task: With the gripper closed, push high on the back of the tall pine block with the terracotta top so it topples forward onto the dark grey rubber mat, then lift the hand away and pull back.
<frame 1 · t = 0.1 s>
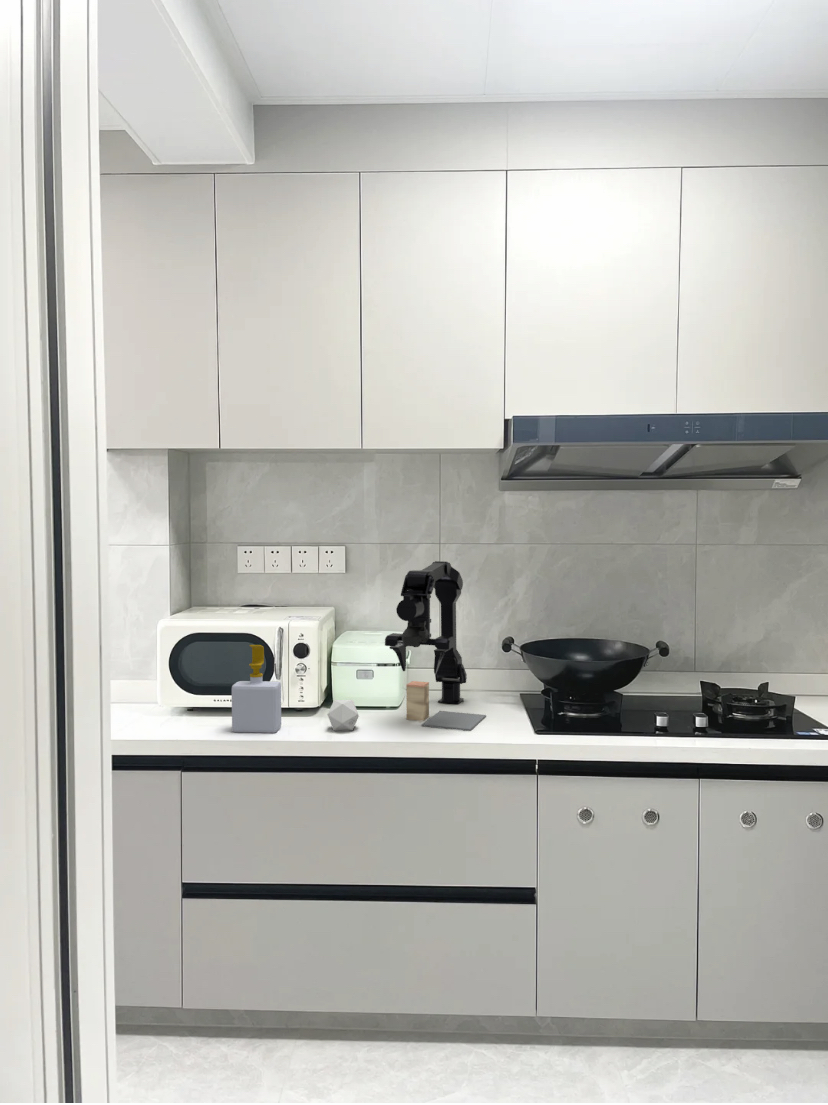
hand: (419, 672, 229), 15 cm above the worktop, tool pointing down, fingers open, 9 cm apart
soap bottle: (256, 730, 224), on the worktop
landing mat: (454, 721, 232), on the worktop
die: (343, 729, 224), on the worktop
pine block: (417, 717, 236), on the worktop
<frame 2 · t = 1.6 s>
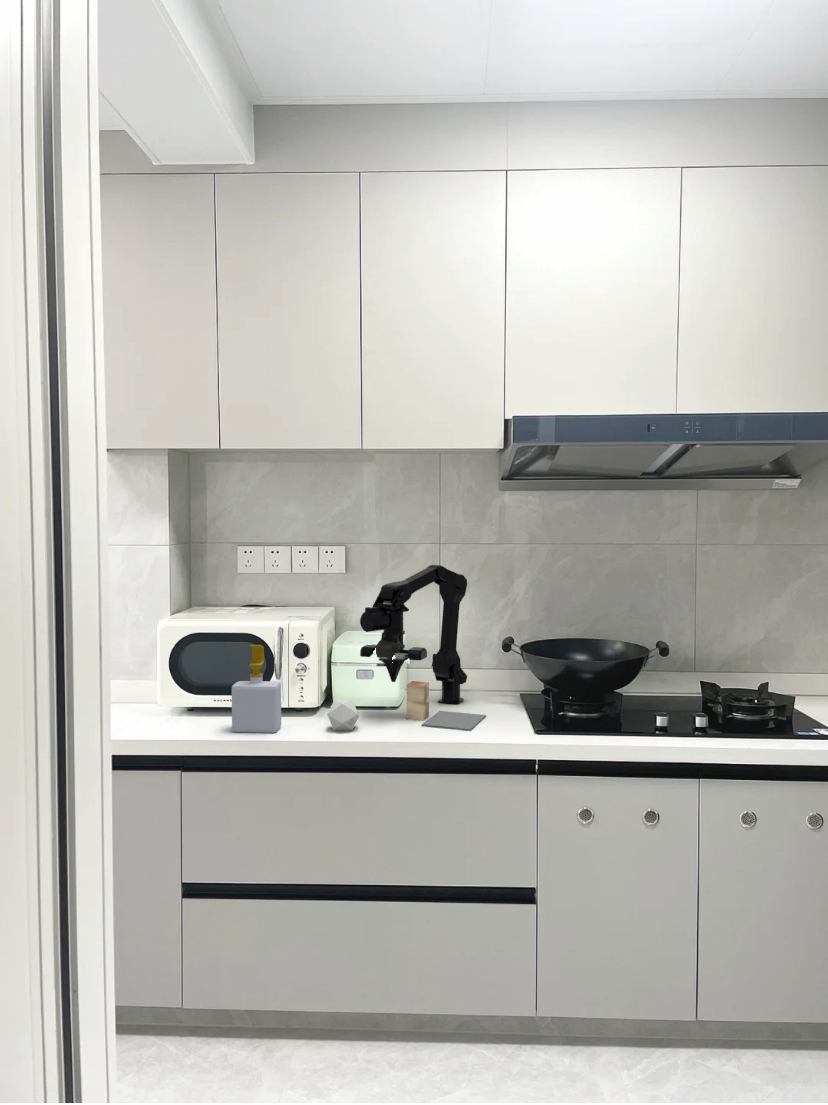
hand: (393, 681, 238), 10 cm above the worktop, tool pointing down, fingers closed
nothing on the worktop moved.
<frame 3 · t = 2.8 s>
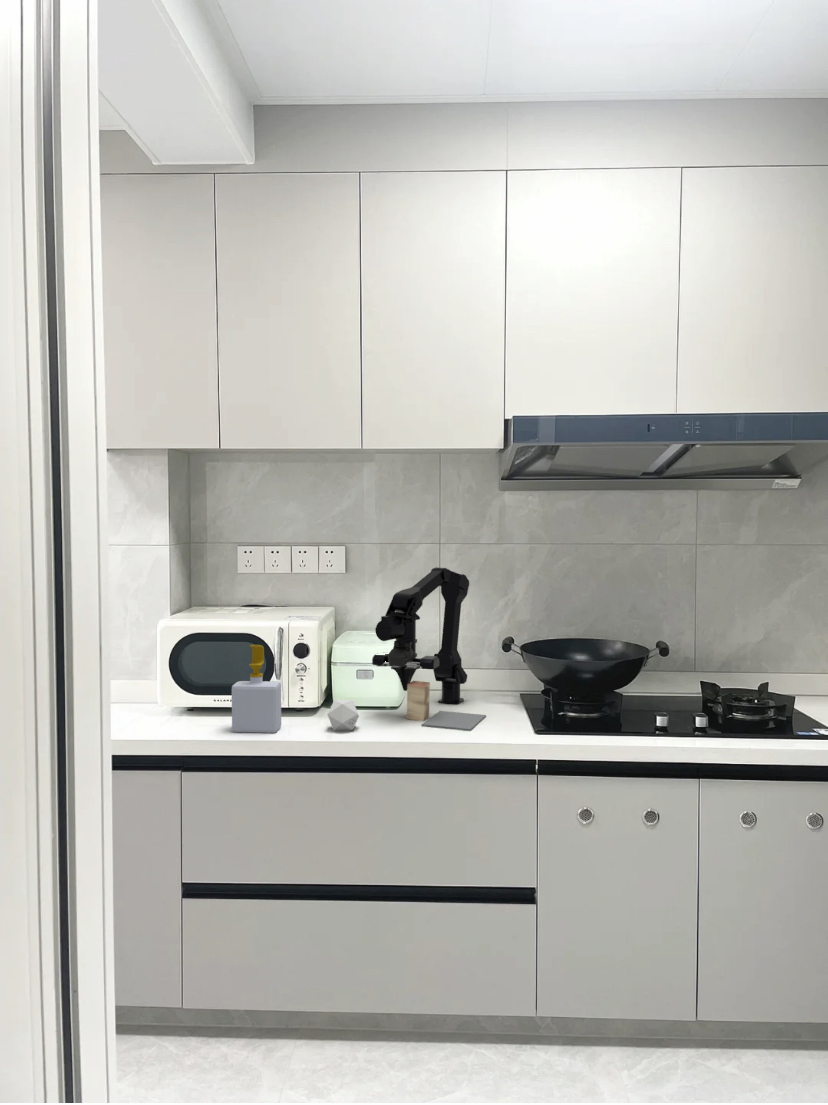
hand: (405, 690, 237), 8 cm above the worktop, tool pointing down, fingers closed
pine block: (417, 717, 236), on the worktop, touching gripper
everything else where it was.
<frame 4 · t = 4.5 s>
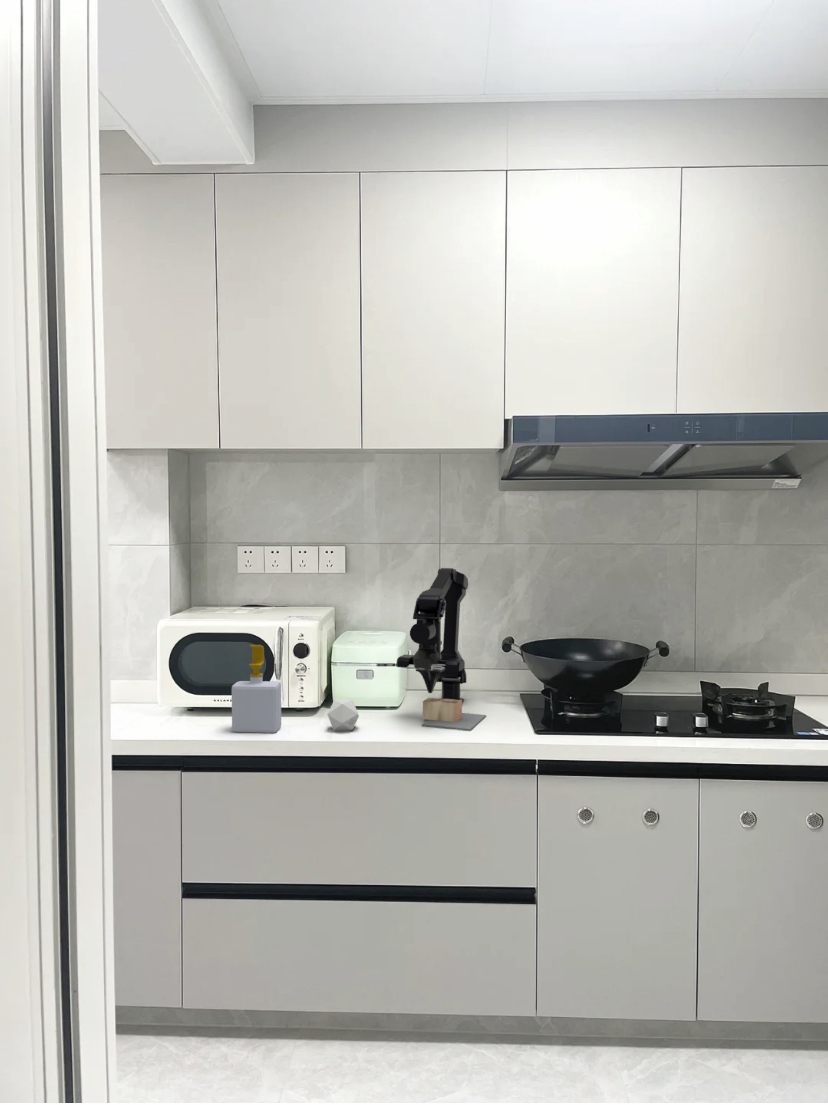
hand: (430, 692, 234), 8 cm above the worktop, tool pointing down, fingers closed
pine block: (425, 708, 235), point 3 cm above the worktop, tilted 90°, touching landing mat
everything else where it was.
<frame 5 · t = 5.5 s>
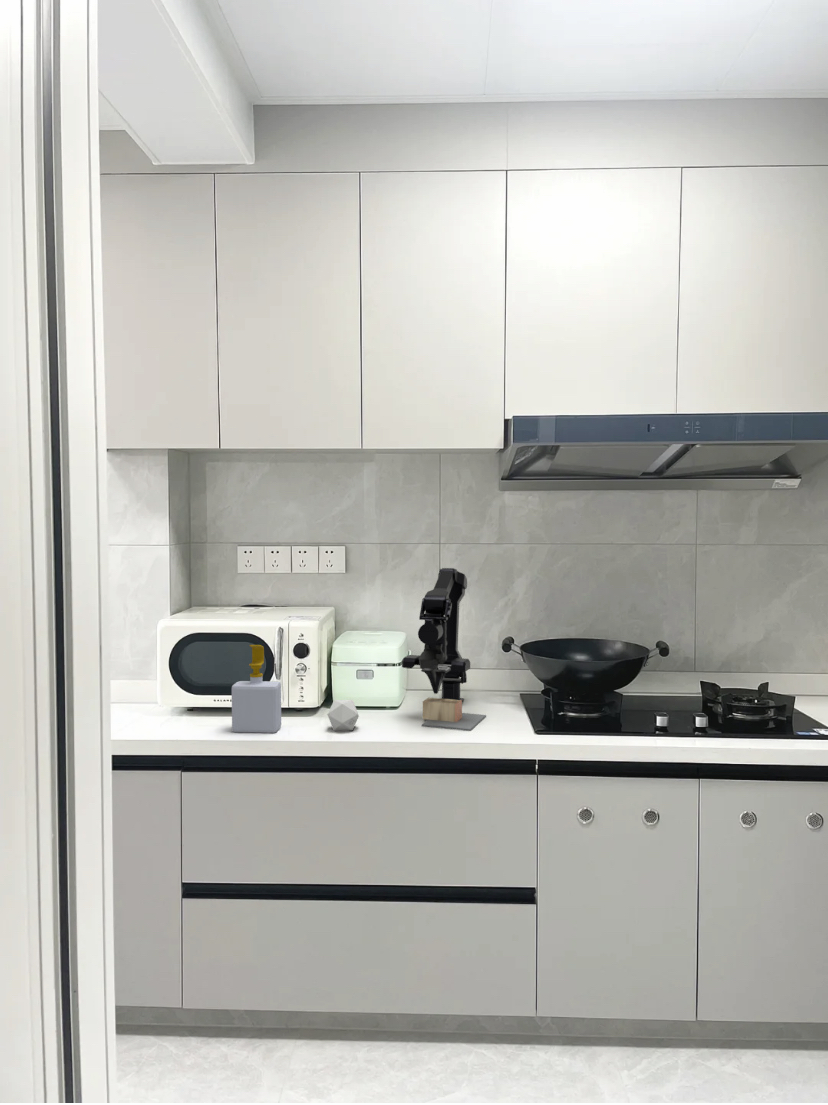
hand: (435, 693, 234), 7 cm above the worktop, tool pointing down, fingers closed
nothing on the worktop moved.
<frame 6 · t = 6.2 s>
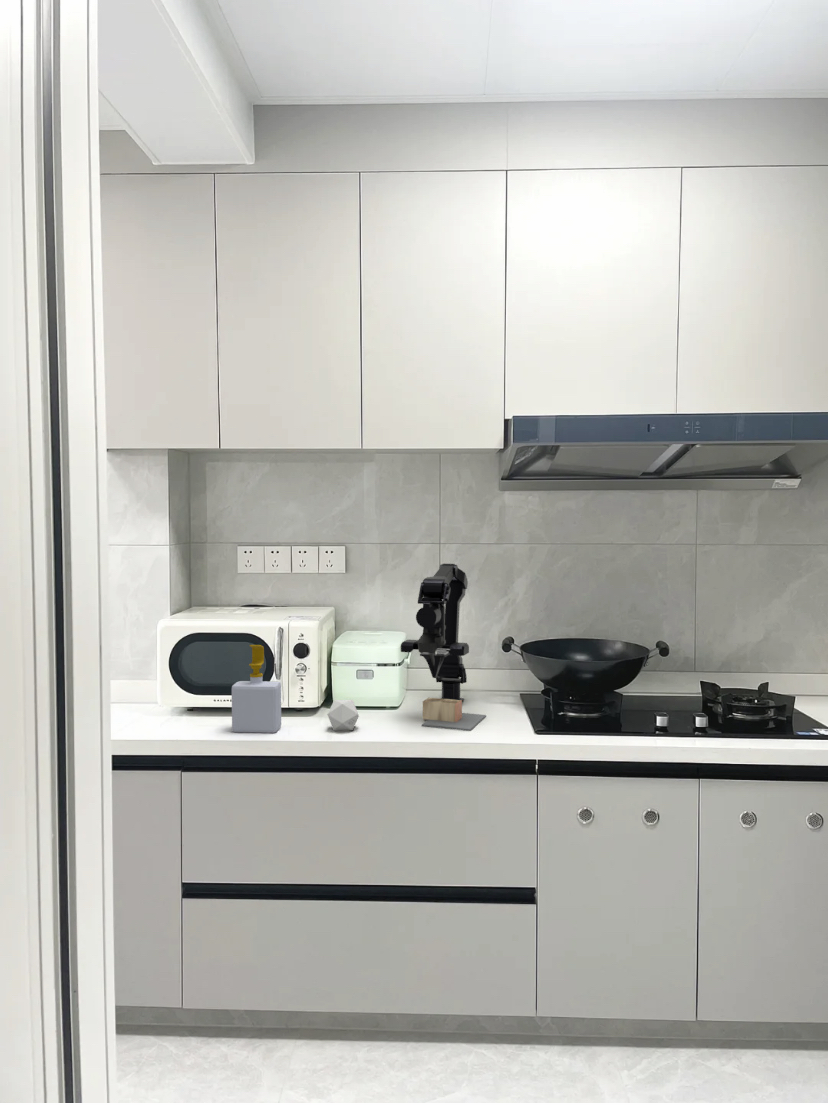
hand: (434, 677, 234), 12 cm above the worktop, tool pointing down, fingers closed
nothing on the worktop moved.
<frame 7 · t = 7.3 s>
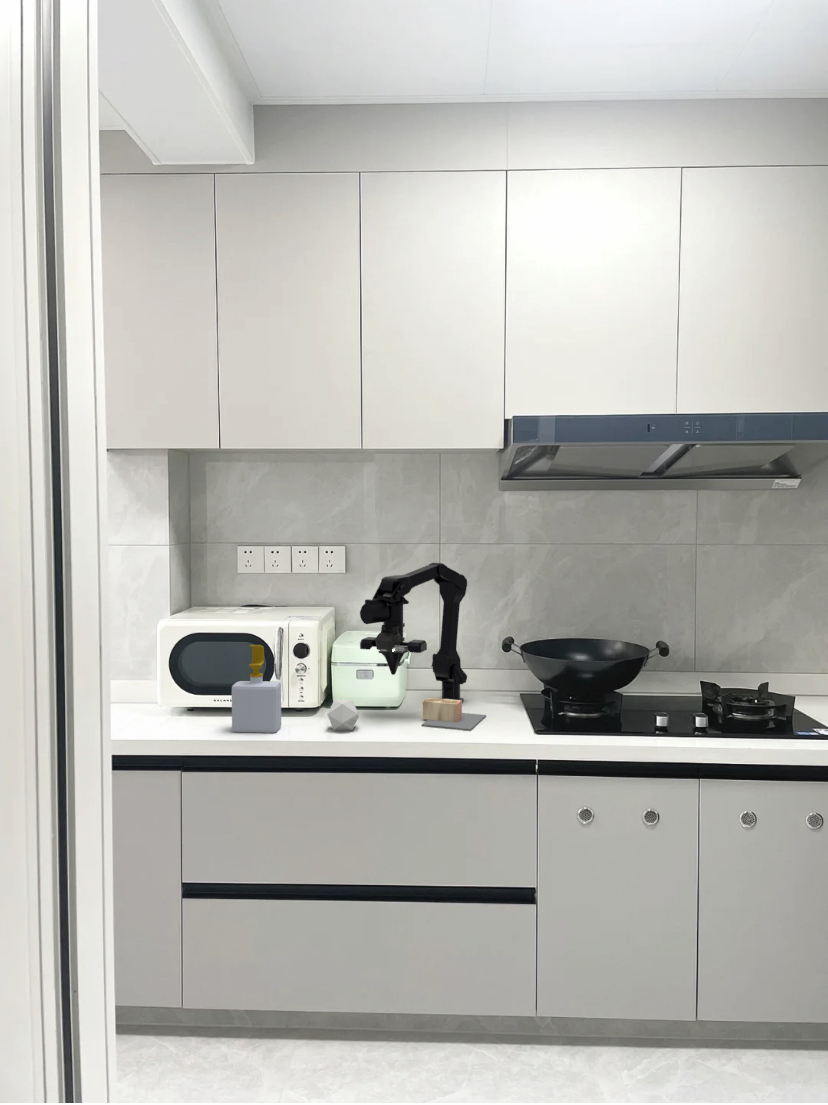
hand: (393, 674, 238), 12 cm above the worktop, tool pointing down, fingers closed
nothing on the worktop moved.
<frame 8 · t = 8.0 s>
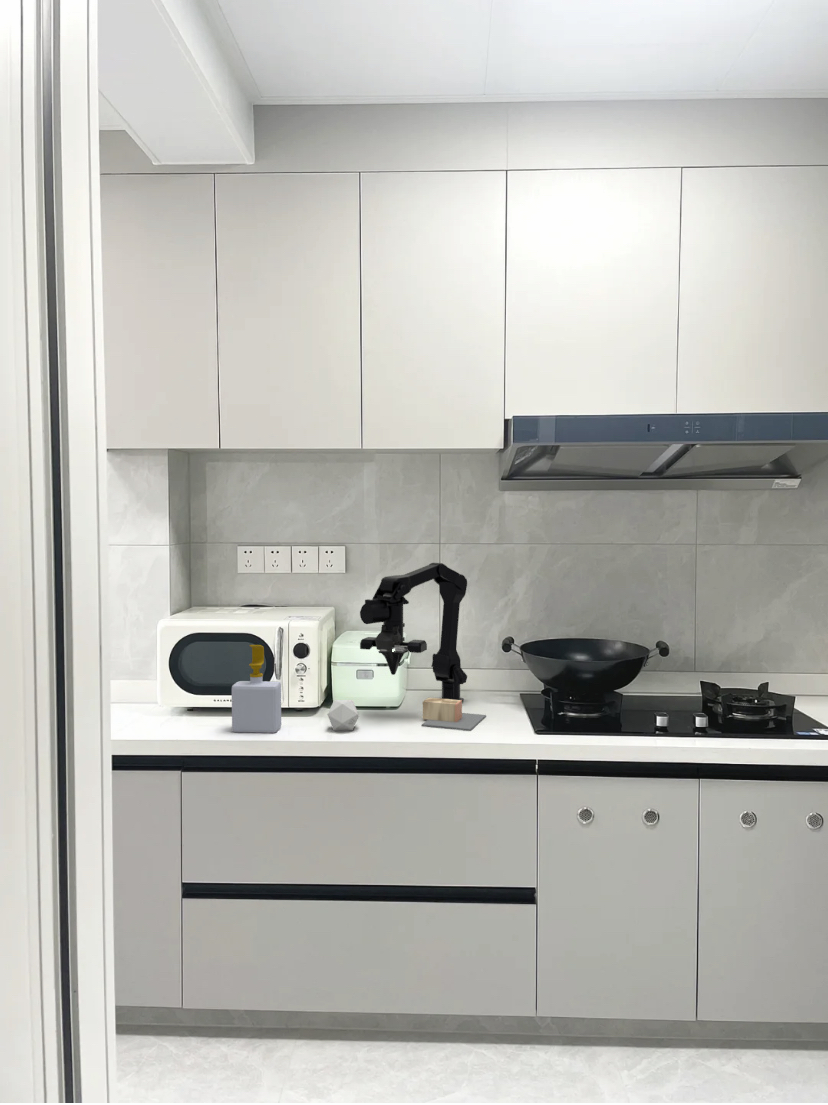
hand: (393, 674, 238), 12 cm above the worktop, tool pointing down, fingers closed
nothing on the worktop moved.
at the end: pine block tilted 90°; pine block inside the target area (1.9 cm from its centre), point 3.0 cm above the worktop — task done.
